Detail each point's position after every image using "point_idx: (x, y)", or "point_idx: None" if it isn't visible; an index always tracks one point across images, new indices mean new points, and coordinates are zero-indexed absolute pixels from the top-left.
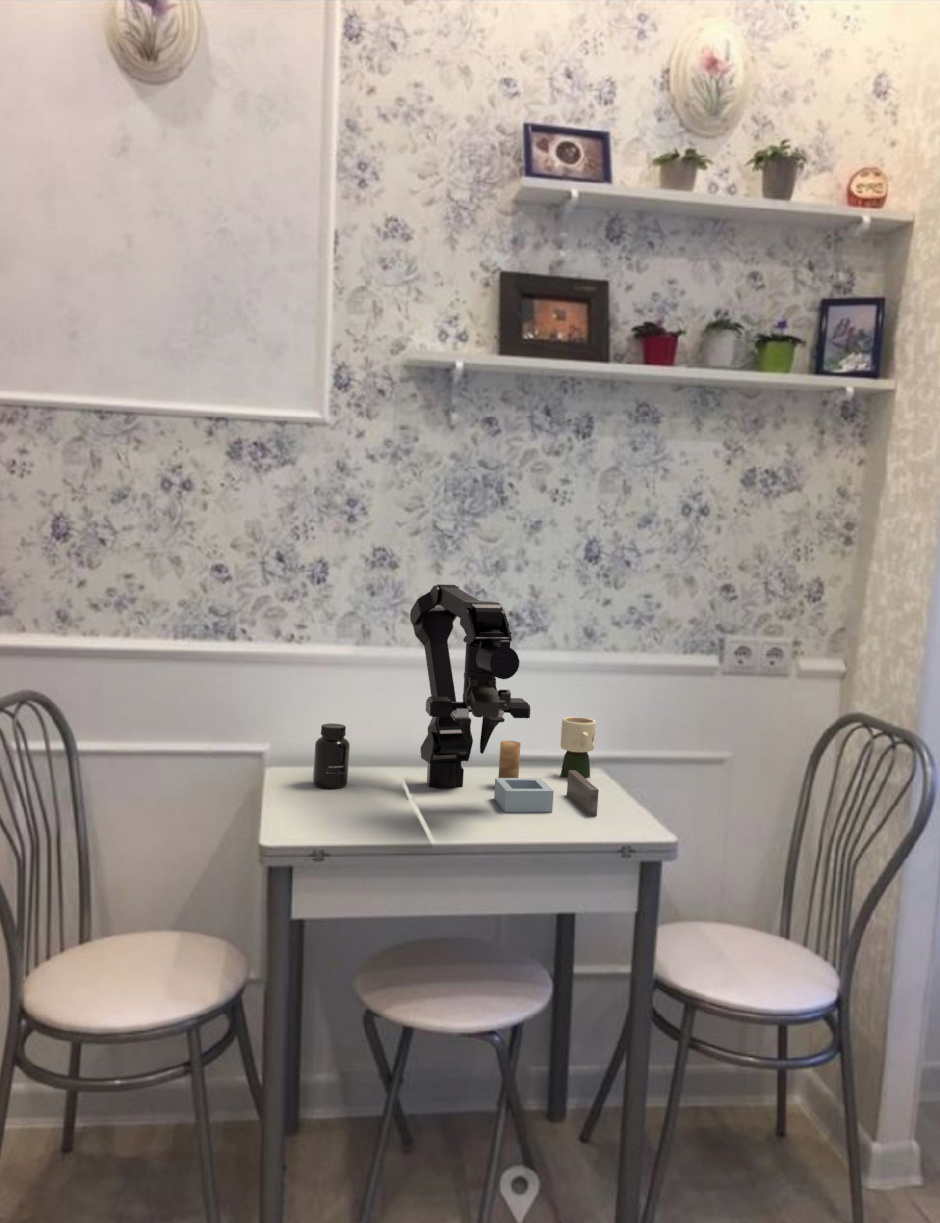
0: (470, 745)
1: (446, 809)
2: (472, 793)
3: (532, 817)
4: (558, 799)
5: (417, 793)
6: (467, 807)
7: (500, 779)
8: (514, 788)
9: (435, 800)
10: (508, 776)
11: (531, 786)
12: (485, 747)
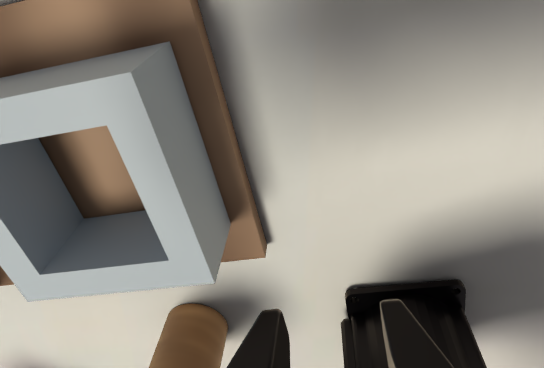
0: (402, 359)
1: (429, 122)
2: (307, 303)
3: None
4: None
5: (503, 287)
6: (335, 160)
7: (189, 265)
8: (137, 239)
9: (452, 225)
10: (179, 355)
11: (67, 253)
12: (236, 352)
